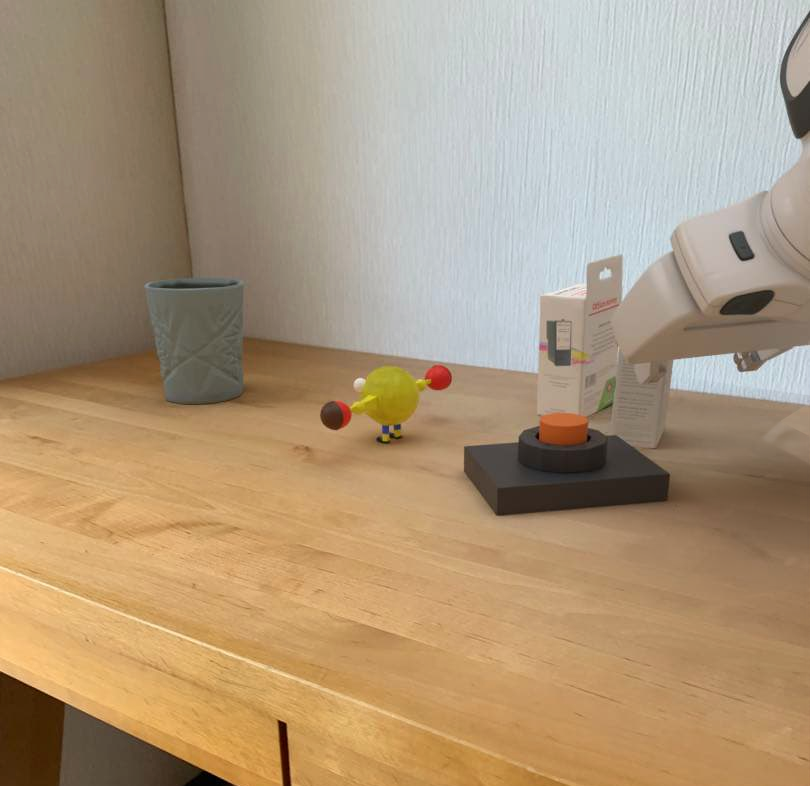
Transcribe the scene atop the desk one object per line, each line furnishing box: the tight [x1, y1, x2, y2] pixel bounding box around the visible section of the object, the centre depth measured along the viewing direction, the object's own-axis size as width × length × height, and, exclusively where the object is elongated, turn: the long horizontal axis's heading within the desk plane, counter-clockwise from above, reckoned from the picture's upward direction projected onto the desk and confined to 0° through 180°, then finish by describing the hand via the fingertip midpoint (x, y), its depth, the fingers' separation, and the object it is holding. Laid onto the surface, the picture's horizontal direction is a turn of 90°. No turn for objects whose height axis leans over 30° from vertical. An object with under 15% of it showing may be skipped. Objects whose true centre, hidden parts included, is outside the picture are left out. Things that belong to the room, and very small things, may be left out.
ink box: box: [536, 253, 623, 418], centre depth 85 cm, size 9×5×15 cm, turn 144°
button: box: [539, 413, 589, 445], centre depth 66 cm, size 4×4×2 cm
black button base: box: [463, 425, 671, 517], centre depth 67 cm, size 13×10×4 cm
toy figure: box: [319, 364, 453, 445], centre depth 79 cm, size 18×6×7 cm, turn 145°
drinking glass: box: [143, 277, 245, 405], centre depth 95 cm, size 10×10×12 cm
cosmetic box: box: [609, 348, 674, 450], centre depth 76 cm, size 6×4×12 cm
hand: (694, 370), depth 70 cm, fingers open, 8 cm apart
